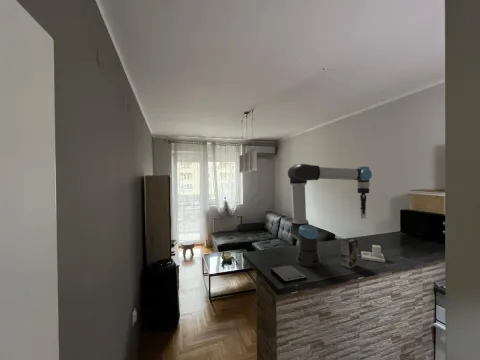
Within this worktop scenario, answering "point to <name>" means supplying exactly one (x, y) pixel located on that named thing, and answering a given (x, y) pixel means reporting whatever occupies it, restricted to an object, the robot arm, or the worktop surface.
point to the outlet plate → (369, 257)
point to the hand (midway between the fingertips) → (363, 216)
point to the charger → (376, 251)
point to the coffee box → (349, 252)
